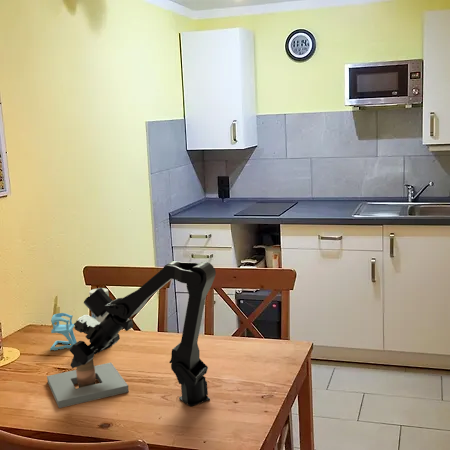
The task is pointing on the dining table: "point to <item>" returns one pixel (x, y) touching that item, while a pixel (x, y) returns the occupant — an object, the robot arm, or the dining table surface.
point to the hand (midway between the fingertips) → (80, 360)
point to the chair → (63, 330)
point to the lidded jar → (86, 374)
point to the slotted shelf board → (70, 395)
